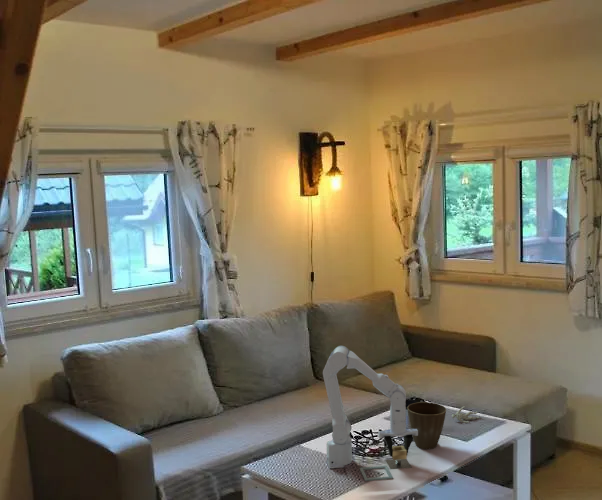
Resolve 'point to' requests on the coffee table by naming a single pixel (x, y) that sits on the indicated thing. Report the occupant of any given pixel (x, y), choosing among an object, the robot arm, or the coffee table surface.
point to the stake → (398, 464)
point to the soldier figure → (464, 416)
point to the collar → (399, 452)
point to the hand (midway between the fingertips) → (398, 454)
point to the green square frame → (376, 477)
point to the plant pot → (426, 423)
